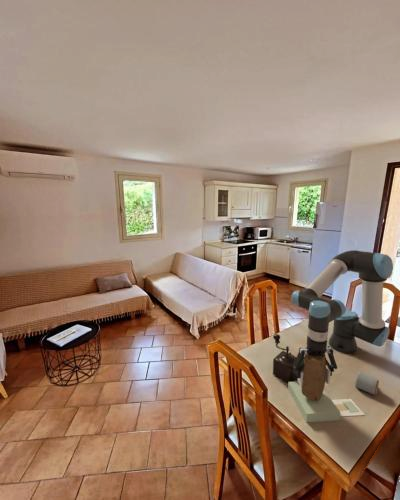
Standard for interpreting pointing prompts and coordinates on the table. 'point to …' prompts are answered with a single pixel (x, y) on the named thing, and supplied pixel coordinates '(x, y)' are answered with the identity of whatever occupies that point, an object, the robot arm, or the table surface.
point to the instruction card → (347, 407)
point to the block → (314, 376)
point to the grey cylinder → (367, 383)
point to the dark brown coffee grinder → (284, 364)
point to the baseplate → (314, 405)
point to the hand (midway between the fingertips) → (313, 382)
